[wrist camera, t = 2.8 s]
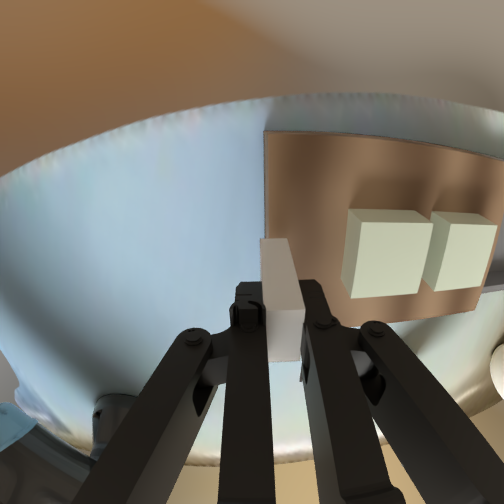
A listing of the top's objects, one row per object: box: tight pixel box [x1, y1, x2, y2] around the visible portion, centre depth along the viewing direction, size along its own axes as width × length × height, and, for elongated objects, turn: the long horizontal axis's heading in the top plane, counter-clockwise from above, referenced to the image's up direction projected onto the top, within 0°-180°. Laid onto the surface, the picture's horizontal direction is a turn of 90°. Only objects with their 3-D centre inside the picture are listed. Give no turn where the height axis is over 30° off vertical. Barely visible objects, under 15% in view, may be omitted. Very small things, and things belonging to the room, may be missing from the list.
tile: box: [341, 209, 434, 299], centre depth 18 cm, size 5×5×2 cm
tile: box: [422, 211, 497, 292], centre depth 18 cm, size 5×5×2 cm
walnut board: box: [263, 131, 504, 327], centre depth 21 cm, size 20×14×6 cm
